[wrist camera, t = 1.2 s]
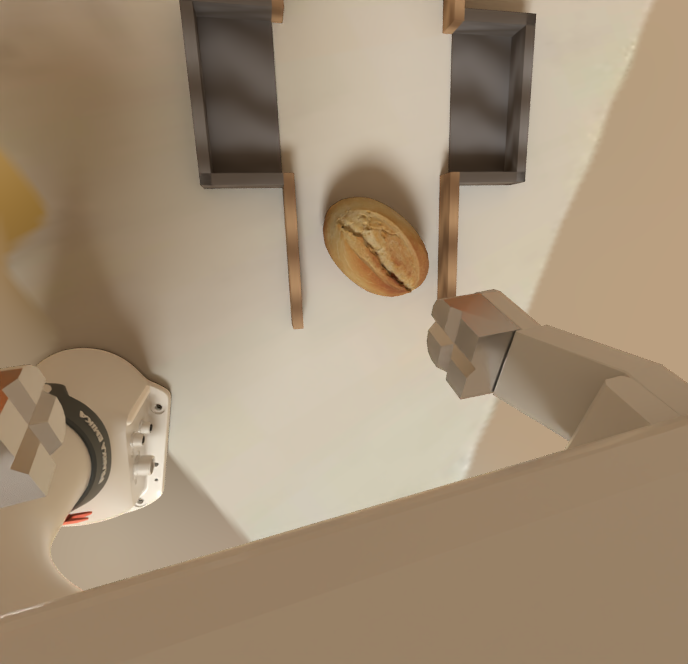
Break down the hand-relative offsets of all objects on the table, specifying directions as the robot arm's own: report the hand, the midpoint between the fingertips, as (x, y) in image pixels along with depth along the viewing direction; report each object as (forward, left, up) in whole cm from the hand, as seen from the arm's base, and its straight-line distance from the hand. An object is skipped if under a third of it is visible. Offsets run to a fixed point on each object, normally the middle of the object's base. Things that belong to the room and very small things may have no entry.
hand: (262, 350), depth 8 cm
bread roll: (+1, -14, -42) cm, 45 cm away
